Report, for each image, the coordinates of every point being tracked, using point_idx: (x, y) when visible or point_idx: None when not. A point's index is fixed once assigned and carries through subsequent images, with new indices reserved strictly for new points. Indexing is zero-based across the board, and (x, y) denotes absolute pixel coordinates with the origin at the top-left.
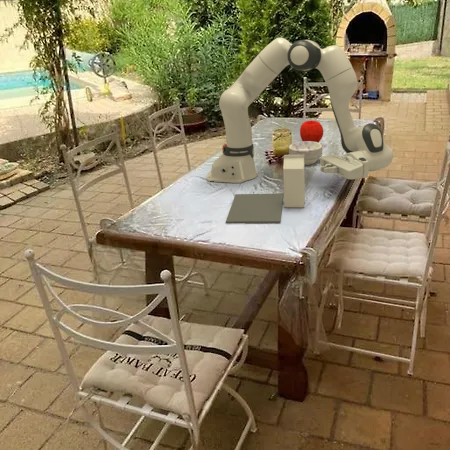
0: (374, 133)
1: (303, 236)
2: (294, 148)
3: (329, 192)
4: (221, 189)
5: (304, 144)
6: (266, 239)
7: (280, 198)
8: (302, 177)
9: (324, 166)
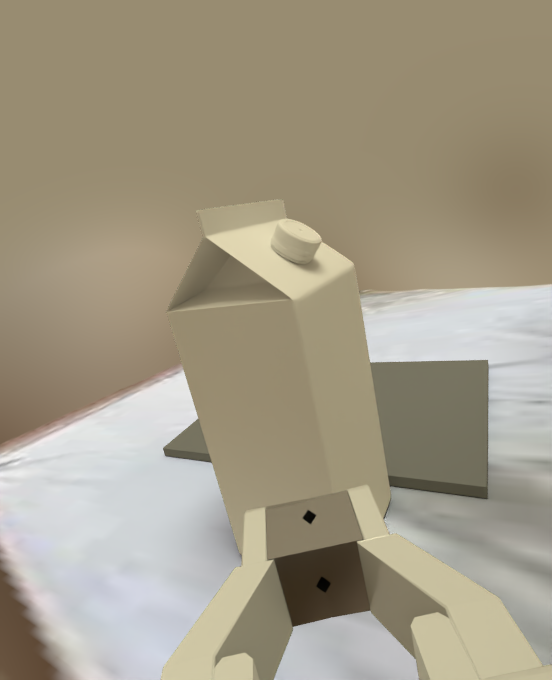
0: None
1: (21, 498)
2: None
3: None
4: None
5: None
6: (111, 426)
7: (398, 467)
8: (188, 371)
9: (359, 526)
